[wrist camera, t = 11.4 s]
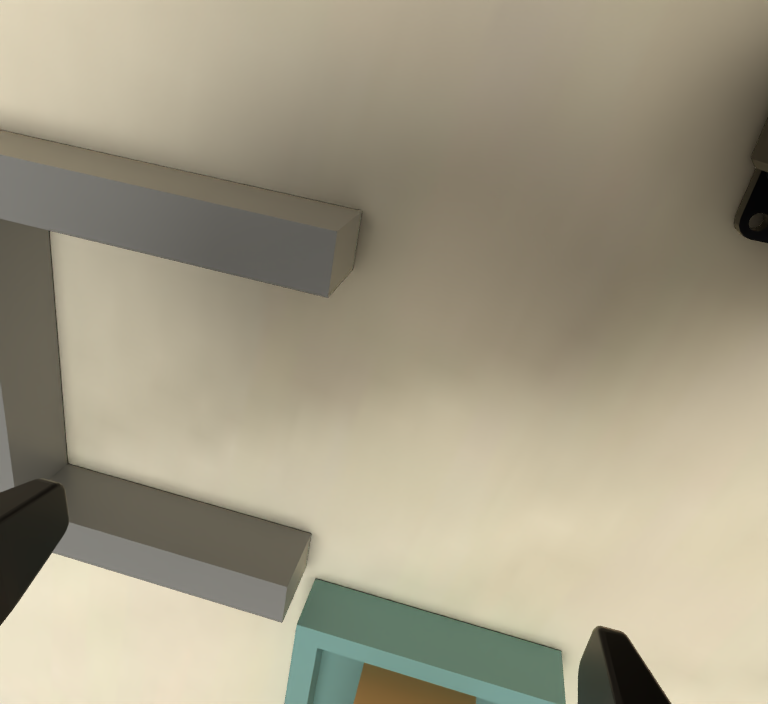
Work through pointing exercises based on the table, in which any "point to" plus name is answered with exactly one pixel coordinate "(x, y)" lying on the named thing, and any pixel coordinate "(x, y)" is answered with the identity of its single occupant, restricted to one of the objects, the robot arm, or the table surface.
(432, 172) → the table surface
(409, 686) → the grey and orange block
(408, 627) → the tray
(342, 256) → the bay
